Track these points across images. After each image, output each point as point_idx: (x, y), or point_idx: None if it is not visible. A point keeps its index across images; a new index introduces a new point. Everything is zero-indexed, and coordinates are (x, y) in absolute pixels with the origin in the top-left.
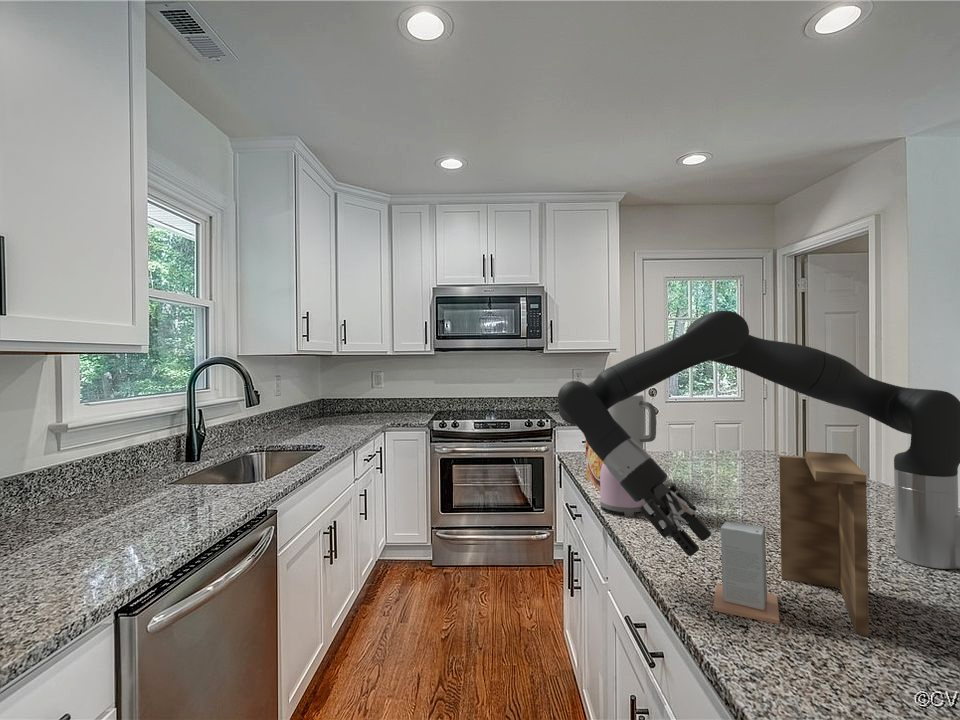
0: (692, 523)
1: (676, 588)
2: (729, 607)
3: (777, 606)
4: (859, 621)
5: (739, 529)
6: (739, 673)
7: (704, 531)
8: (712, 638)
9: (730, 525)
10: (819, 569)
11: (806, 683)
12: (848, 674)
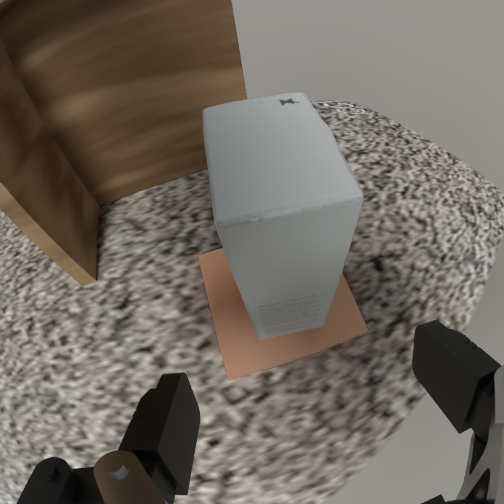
0: (176, 465)
1: (316, 454)
2: (342, 303)
3: None
4: None
5: (319, 136)
6: (484, 223)
7: (181, 400)
8: (456, 282)
9: (293, 173)
10: (83, 210)
11: (432, 170)
12: (372, 146)
